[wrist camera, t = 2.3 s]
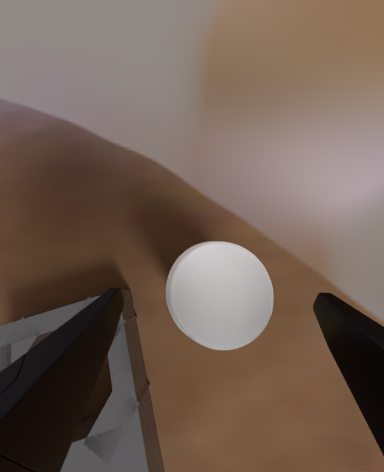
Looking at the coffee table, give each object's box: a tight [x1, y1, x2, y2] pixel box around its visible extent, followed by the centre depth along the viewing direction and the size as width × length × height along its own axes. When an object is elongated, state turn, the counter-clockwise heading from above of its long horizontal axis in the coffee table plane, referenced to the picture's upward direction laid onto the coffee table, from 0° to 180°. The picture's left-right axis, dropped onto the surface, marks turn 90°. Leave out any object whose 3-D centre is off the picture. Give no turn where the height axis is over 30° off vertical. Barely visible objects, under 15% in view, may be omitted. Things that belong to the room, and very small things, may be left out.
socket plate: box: [0, 290, 164, 472], centre depth 12 cm, size 20×10×2 cm, turn 17°
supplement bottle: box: [166, 241, 274, 350], centre depth 11 cm, size 5×5×10 cm
